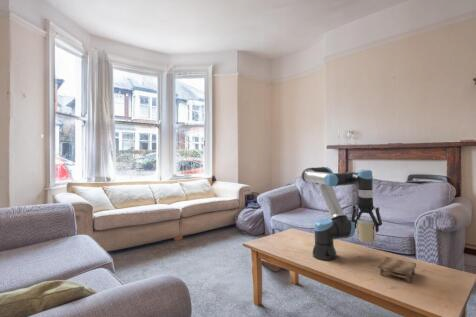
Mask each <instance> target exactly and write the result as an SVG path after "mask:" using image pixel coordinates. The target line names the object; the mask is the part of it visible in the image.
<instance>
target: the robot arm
mask: <svg viewBox="0 0 476 317" xmlns="http://www.w3.org/2000/svg"><path fill="white" fill-rule="evenodd" d="M301 172H302V173H301V180H302V181H303V182H304V183H307V184H316V186H317V187H318V188H319V189H320V191H321V195H322V197H323V200H324V202H325V205H326V207H327V211H328V212H329V215H330V218H321V219H320V218H319V219H318V220H315V222H314V225H313V226H314V227H313V228H314V246H313V249H312V257H314V258H315V259H317V260H321V261H333V260H336V259H337V257H338V256H337V255H338V254H337V250H336V248H335V245H334V240H338V239H340V240H341V239H349V238H352V237H354V236H355V232H356V236H359V231H358V222H357V221H358V219H360V218H361V217H362V215H363V214H369V216H370V219H372V220H373V222H374V224H375V226H374V239H376V238H377V237H378V232H380V230H379V227H380V226H382V225H383V222H382V217H381V214H380V207H379V206H378V207H377V206H376V207H375V206H374V197H373V196H374V193H373V192H374V190H373V178H374V177H373V171H372V170H371V169H359V170H357V172H354V171H348V172H341V173H340V172H338V173H335V172H333V171H332V169H331V168H330V167H328V166H327V167H326V166H320V167H308V168H305V169H304V170H303V171H301ZM338 186H340V187H341V186H357V191H358V195H357V196H358V204H354V205H352V209H353V210H352V215H351V218H348V215H347V214H345V213H344V211H343V209H342V207H341V204H340V201H339V199H338V197H337V195H336V191H335V189H334V187H338ZM358 209H359V211H358V213H357V210H358ZM373 211H375V214H376V216H375V214H374V212H373Z"/></svg>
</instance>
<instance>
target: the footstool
mask: <svg viewBox="0 0 476 317" xmlns="http://www.w3.org/2000/svg"><path fill="white" fill-rule="evenodd" d="M416 266H417V262H413V261H408V260H403V259H398V258H393V257H389V256H385V257H383V259H382V260H381V261H380V263H379V264H378V269H379V273H380V274H379V275H380V276H381V277H383V276H384V275H385V274H387V275H391V276H395V277H399V278H403V279H406V283H408V284H409V283H411V277H412V275H414V274H415V271H416V268H417V267H416Z"/></svg>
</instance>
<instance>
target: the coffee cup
mask: <svg viewBox="0 0 476 317" xmlns="http://www.w3.org/2000/svg"><path fill="white" fill-rule="evenodd" d="M357 223H358V231H359V234H358V238H359V241H360V242H361V243H364V244H365V243H366V244H372V243H374V242H375V238H374V226H375V224H374V222H373V220H372V218H366V217H363V218H361V217H360V218H359V219H358V221H357Z"/></svg>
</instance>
